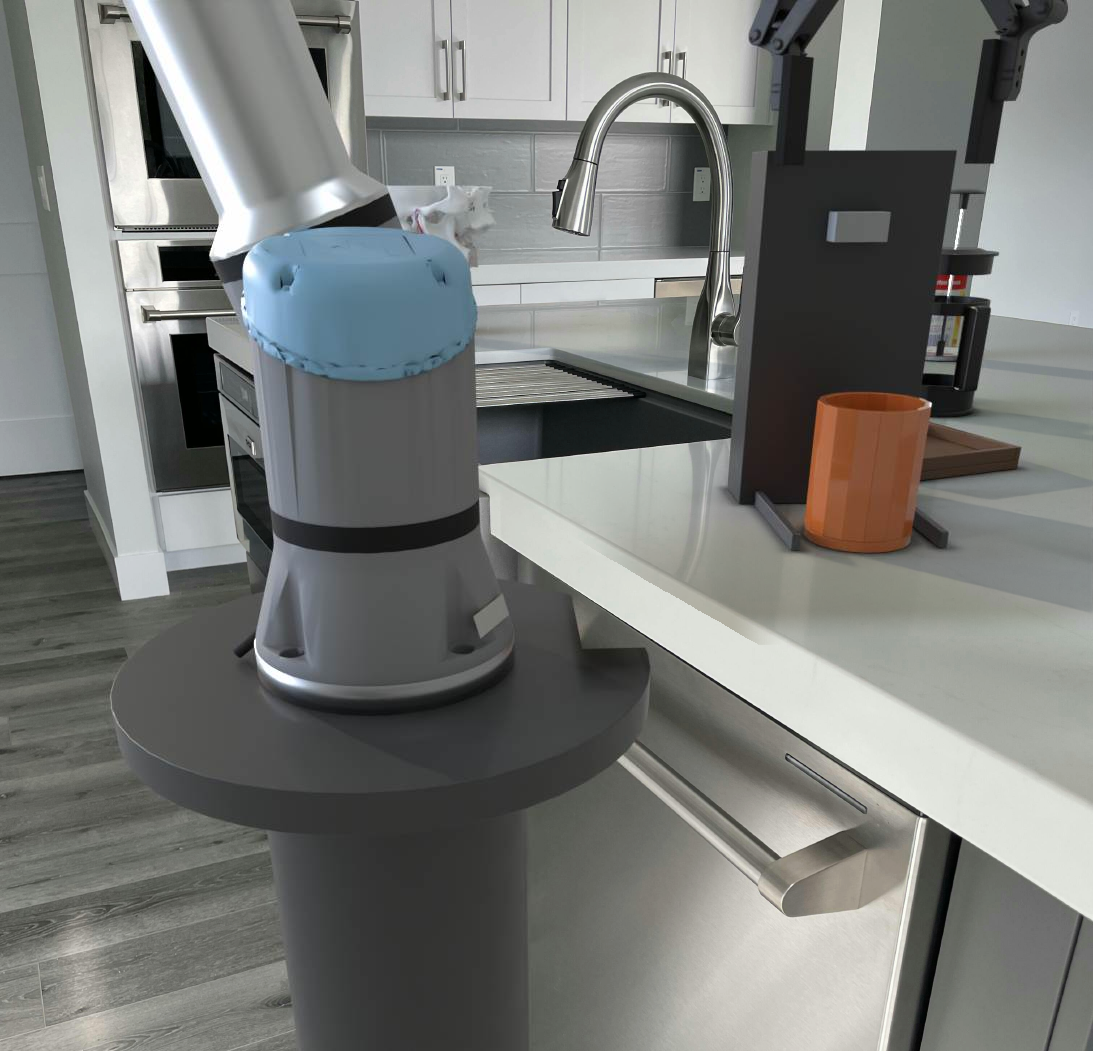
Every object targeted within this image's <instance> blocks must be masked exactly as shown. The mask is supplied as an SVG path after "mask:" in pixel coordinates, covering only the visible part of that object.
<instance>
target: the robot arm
mask: <svg viewBox="0 0 1093 1051" xmlns="http://www.w3.org/2000/svg"><path fill="white" fill-rule="evenodd" d="M839 1H840V0H761V2H760V5H759V7H758V10H757V12H756V15H755V17H754V19H753V21H752V24H751V26H750V29H749V31H748V36H747V37H748V42H749V43H750V45H752V46H755V47H758V48H761V49H763V50H765V51H768V52H769V53H770V54H771V57H772V58H771V59H772V69H771V83H770V85H771V86H770V93H769V94H770V96H769V104H770V110H771V111H773V112H774V111H775V112H778V114H777V127H776V138H775V149H774V150H775V162H774V166H804V159H805V150H806V147H807V138H808V137H807V136H808V128H809V116H810V114H809V113H810V103H811V96H812V95H811V94H812V83H813V74H814V61H815V57H813V56H808V55H809V54H808V52H806V48H807V47H808V46H809V44H810V43H811V42H812V40H813V38H815V36H816V34H817V33H818V31H819V30H820V28H821V27H822V26H823V24H824V23H825V21H826V19H827V18H829V16H830V14H831V13H832V11H833V9H834V8H835V6H836V5H837V4H838V2H839ZM122 2H123V5H124V7H125V9H126V12H127V14H128V16H129V18H130V20H131V23H132V25H133V28H134V29H135V32H136V34H137V36H138V38H139V40H140V43H141V45H142V47H143V50H144V51H145V54H146V56H147V58H148V61H149V63H150V65H151V67H152V70H153V72H154V74H155V77H156V78H157V79H156V80H157V81H158V83H159V85H160V87H161V90H162V92H163V95H164V96H165V99H166V101H167V103H168V106H169V108H170V110H171V112H172V115H173V117H174V119H175V121H176V123H177V126H178V129H179V130H180V132H181V134H182V137H183V139H184V141H185V143H186V146H187V148H188V150H189V152H190V155H191V157H192V159H193V161H194V164H195V166H196V168H197V170H198V172H199V175H200V177H201V179H202V181H203V184H204V186H205V188H206V190H207V193H208V195H209V197H210V200H211V202H212V204H213V206H214V208H215V211H216V213H217V215H218V227H217V231H216V233H215V237H214V239H213V243H212V245H211V248H210V252H209V255H208V256H209V258H210V260H211V263H212V265H213V267H214V269H215V272H216V273H217V276H218V279H219V281H220V283H221V284H222V287H223V290H224V291H225V293H226V296H227V298H228V299H229V302H230V304H231V307H232V308H233V311H234V313H235V315H236V318H237V321H238V322H239V325H240V326H241V329H242V331H243V333H244V335H245V337H246V340H247V343H248V344H249V346H250V347H249V349H250V357H251V364H252V372H253V381H254V382H253V383H254V388H255V390H254V391H255V399H256V405H257V413H258V414H257V415H258V422H259V429H260V439H261V447H262V456H263V462H264V472H265V479H266V480H265V481H266V486H267V495H268V496H267V497H268V503H269V509H270V518H271V519H270V520H271V527H272V536H273V538H272V539H273V548H272V554H271V559H270V563H269V570H268V574H267V578H266V582H265V583H266V584H265V587H264V591H265V592H264V591H263V592H264V597H263V602H262V607H261V611H260V616H259V621H258V626H257V628H256V629H255V630H254V631H253V632H252V633H251V634H250V635H248V636H247V637H246V638H245V639H244V640H243V641H242V642H240V643H239V644H238V645H237V646H236V647H235V648H234V649H233V652H234V654H235V655H236V656H237V657H239V658H242V657H243V656H244V655H245V654H246V653H248V652H249V651H250V650H251V649H252V648H253V647H255V655H256V662H257V669H258V676H259V679H260V681H261V683H262V684H263V685H264V687H265V688H266V689H268V690H269V691H270V692H271V693H273V694H274V695H275V696H277V697H279V698H281V699H283V700H285V701H287V702H290V703H292V704H295V705H298V706H301V707H305V708H308V709H313V710H317V711H323V712H329V713H336V714H347V715H391V714H403V713H411V712H418V711H424V710H429V709H434V708H439V707H443V706H447V705H450V704H454V703H457V702H460V701H463V700H466V699H468V698H471V697H473V696H475V695H478V694H480V693H482V692H484V691H486V690H487V689H489V688H491V687H492V686H494V685H495V684H497V683H498V682H500V681H501V680H502V679H503V678H504V677H505V676H506V675H507V674H508V672H509V671H510V670H511V668H512V666H513V663H514V657H515V650H514V627H513V624H512V621H511V617H510V615H509V612H508V609H507V606H506V603H505V600H504V596H503V594H502V592H501V590H500V587H499V584H498V581H497V579H498V577H497V576H496V573H495V570H494V568H493V565H492V562H491V560H490V557H489V553H488V551H487V549H486V546H485V543H484V540H483V537H482V533H481V532H482V530H481V513H480V512H481V511H480V510H481V508H480V474H479V472H480V471H479V448H478V447H479V446H478V445H479V443H478V442H479V441H478V410H477V408H478V407H477V378H476V377H477V376H476V374H477V373H476V341H475V338H476V337H475V332H476V330H477V322H478V313H479V311H478V306H477V300H476V297H475V295H474V292H473V280H472V273H471V272H472V271H471V268H469V265H468V262H467V259H466V258H465V256H464V255H463V253H462V252H461V251H460V250H459V249H458V248H457V247H456V246H455V245H453V244H452V243H450V242H449V241H447V240H445V239H442V238H440V237H437V236H433V235H429V234H415V233H414V232H412V231H407V230H403V229H402V226H401V223H400V221H399V218H398V215H397V213H396V210H395V207H394V204H393V202H392V199H391V196H390V194H389V191H388V188H387V186H388V185H385V184H383V183H382V182H380V181H378V180H376V179H375V178H373V177H371V176H370V175H368V174H365V173H364V172H362V171H360V170H359V169H358V168H357V167H356V166H355V165H353V163H352V161H351V158H350V155H349V153H348V150H347V148H346V145H345V142H344V139H343V136H342V134H341V132H340V129H339V126H338V124H337V121H336V119H335V116H334V113H333V110H332V108H331V105H330V102H329V100H328V97H327V94H326V92H325V90H324V87H323V84H322V80H321V79H320V77H319V73H318V71H317V68H316V66H315V63H314V61H313V58H312V55H311V52H310V50H309V47H308V44H307V42H306V40H305V36H304V34H303V32H302V31H303V30H302V29H301V26H300V23H299V21H298V18H297V16H296V13H295V10H294V7H293V5H292V3H291V0H122ZM980 2H981V4H982V6H983V7H984V9H985V11H986V12H987V14H988V16H989V17H990V19H991V21H992V23H993V24H994V27H995V28H996V30H995V31H994V33H995V34H996V35H997V36H999V38H987V39H983V40H982V44H981V45H982V46H981V51H980V58H979V59H980V60H979V65H978V71H977V78H976V83H975V84H976V86H975V90H974V97H973V102H972V103H973V104H972V110H971V117H970V122H969V123H970V124H969V131H968V137H967V144H966V149H965V155H964V156H965V157H964V163H963V164H964V165H994V164H995V158H996V153H997V151H996V150H997V146H998V142H999V141H998V140H999V135H1000V127H1001V123H1002V116H1003V110H1004V103H1005V102H1016V101H1017V99H1018V97H1019V95H1020V94H1021V90H1022V86H1023V85H1022V84H1023V79H1024V71H1025V66H1026V60H1027V55H1028V48H1029V45H1030V41H1031V40H1032V38H1033V36H1035V34H1037V33H1038V32H1039V31H1041V30H1043V29H1046V28H1047V27H1049V26H1050V27H1051V25H1058V24H1061V23H1062V22H1063V21H1064V20H1065V19H1066V17H1067V15H1068V13H1069V4H1068V0H1027V2H1028V5H1026V4H1025V2H1024V0H980Z"/></svg>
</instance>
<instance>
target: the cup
mask: <svg viewBox="0 0 1093 1051" xmlns="http://www.w3.org/2000/svg"><path fill="white" fill-rule="evenodd" d="M931 407H932V403H931V402H929V401H927V400H925V399H922V398H918V397H914V396H909V395H902V394H894V393H883V392H842V393H832V394H828V395H824V396H821V397H820V398H819V400H818V404H817V413H816V422H815V431H814V440H813V449H812V458H811V467H810V477H809V486H808V495H807V503H805V513H804V514H805V515H804V523H803V524H804V529H803V534H804V537H805V538H806V539H807V540H808V541H809V542H811V543H813V544H815V545H817V546H821V547H824V548H826V549H832V550H836V551H840V552H841V551H842V552H848V553H861V554H862V553H863V554H871V553H872V554H875V553H876V554H877V553H889V552H895V551H899V550H902V549H904V548H906V547H907V546H909V544H910V543H911V540H912V532H913V528H914V527H913V521H914V515H915V509H916V507H917V502H918V495H919V488H920V483H921V480H920V477H921V471H922V464H923V458H924V452H925V445H926V439H927V433H928V426H929V422H930V419H931V416H930V414H931Z"/></svg>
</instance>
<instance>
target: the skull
mask: <svg viewBox="0 0 1093 1051" xmlns="http://www.w3.org/2000/svg"><path fill="white" fill-rule="evenodd" d="M386 186H387V188H388V191H389V194H390V196H391V199H392V202H393V204H394V207H395V210H396V213H397V215H398V218H399V221H400V223H401V226H402V229H403V230H407V231H412V232H414V233H415V234H429V235H433V236H437V237H440V238H442V239H445V240H447V241H449V242H450V243H452V244H453V245H455V246H456V247H457V248H458V249H459V250H460V251H461V252H462V253H463V255H464V256H465V258H466V259H467V262H468V265H469V268H470V269H471V268H479V266H480V254H481V253H480V252H481V250H480V249H479V248H478V247H477V246H475V245H474V243H473V236H476V237H479V236H481V235H483V234H487V233H489V231H491V229H494V228H496V227H497V226H498V223H497V221H496V220H495V218H494V215H493V214H494V212H495V210H492V209H490V206H489V196H490V194H491V192H492V191H493V186H487V185H482V186H481V185H480V186H479V185H386Z"/></svg>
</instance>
